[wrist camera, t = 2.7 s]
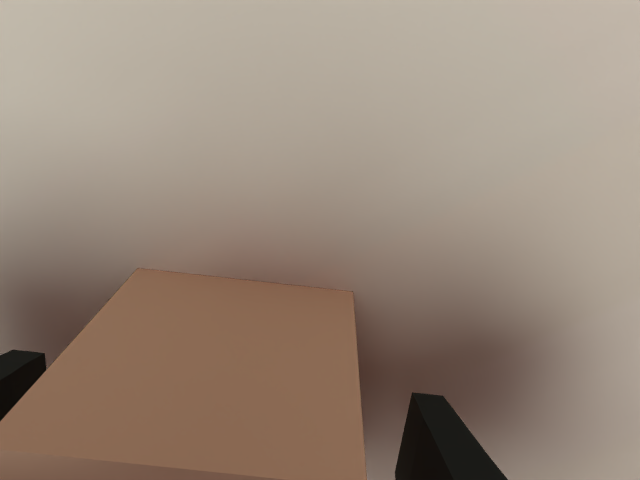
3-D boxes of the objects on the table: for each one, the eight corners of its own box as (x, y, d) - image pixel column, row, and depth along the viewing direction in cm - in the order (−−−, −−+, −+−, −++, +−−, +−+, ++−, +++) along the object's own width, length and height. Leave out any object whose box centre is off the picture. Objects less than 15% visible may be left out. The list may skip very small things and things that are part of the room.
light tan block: (352, 290, 10) (367, 487, 6) (328, 455, 12) (324, 713, 7) (139, 266, 10) (-23, 446, 6) (143, 435, 12) (21, 682, 7)
